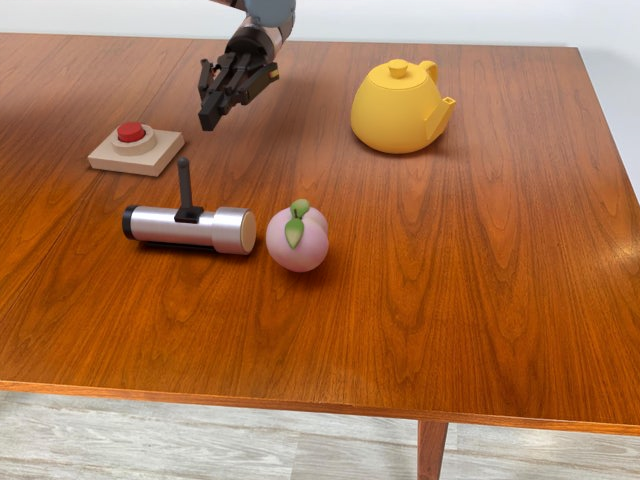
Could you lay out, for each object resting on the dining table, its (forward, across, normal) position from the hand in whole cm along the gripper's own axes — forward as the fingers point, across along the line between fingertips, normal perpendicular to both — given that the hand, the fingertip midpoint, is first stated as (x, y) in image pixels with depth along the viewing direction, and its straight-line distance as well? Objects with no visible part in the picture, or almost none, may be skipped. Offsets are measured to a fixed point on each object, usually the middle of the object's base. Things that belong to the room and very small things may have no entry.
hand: (205, 122), depth 82 cm
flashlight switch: (+11, 0, -7) cm, 13 cm away
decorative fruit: (+14, -16, -13) cm, 25 cm away
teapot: (-21, -27, -13) cm, 37 cm away
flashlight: (+11, +1, -13) cm, 17 cm away
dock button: (-9, +18, -9) cm, 23 cm away
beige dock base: (-9, +18, -13) cm, 24 cm away
